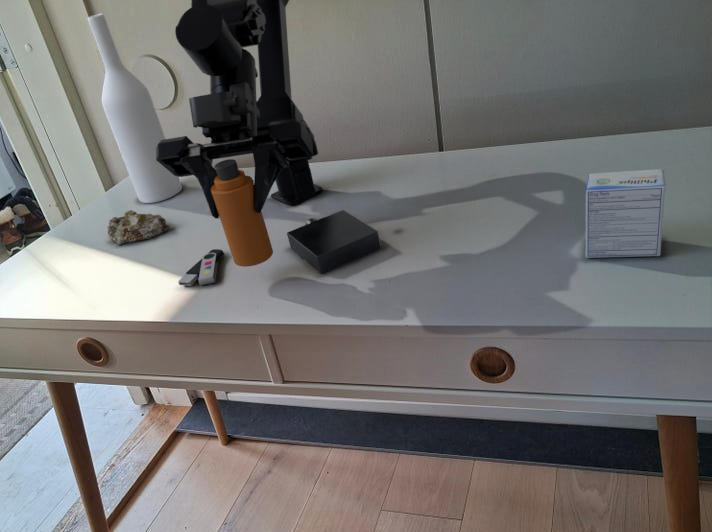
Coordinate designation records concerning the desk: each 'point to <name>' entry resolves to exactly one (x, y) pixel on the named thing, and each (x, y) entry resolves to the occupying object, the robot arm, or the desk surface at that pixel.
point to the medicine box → (624, 213)
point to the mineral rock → (135, 227)
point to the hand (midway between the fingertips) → (236, 214)
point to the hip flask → (333, 241)
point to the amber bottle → (240, 215)
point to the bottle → (132, 121)
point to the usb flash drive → (203, 269)
